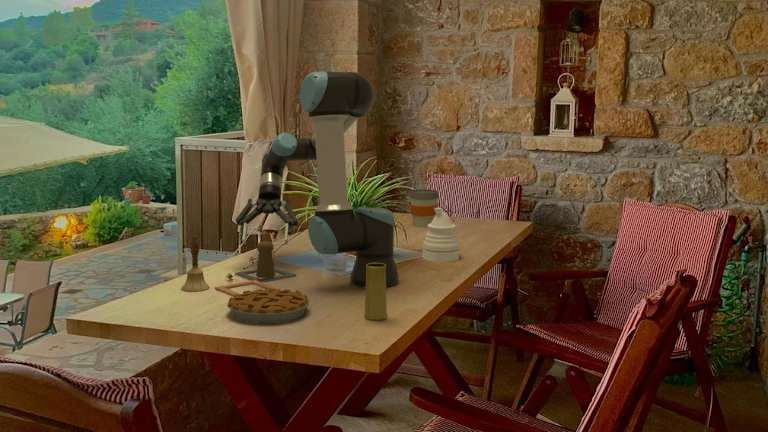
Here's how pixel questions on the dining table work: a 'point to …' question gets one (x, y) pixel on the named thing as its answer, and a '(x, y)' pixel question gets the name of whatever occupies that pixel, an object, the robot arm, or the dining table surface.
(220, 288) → the frame
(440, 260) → the honey pot
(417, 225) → the reusable coffee cup
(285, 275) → the frame
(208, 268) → the dining table surface
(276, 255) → the dining table surface
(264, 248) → the cork
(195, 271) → the hand bell
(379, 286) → the vase
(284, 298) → the pie
